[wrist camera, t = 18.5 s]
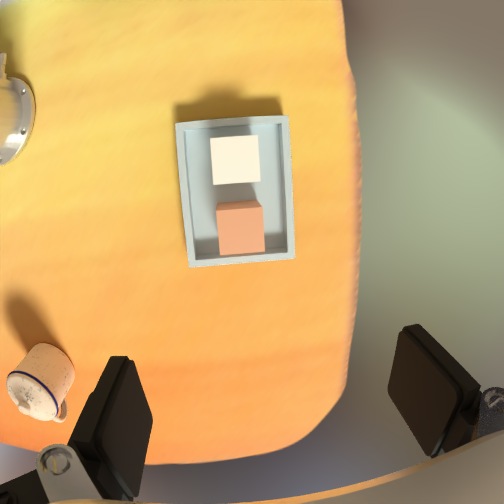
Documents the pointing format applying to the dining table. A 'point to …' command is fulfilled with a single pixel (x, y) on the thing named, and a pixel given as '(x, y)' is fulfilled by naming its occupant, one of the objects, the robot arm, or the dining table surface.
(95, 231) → the dining table surface
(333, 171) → the dining table surface
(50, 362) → the teacup with lid
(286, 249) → the tray
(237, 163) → the white block
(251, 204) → the terracotta block
